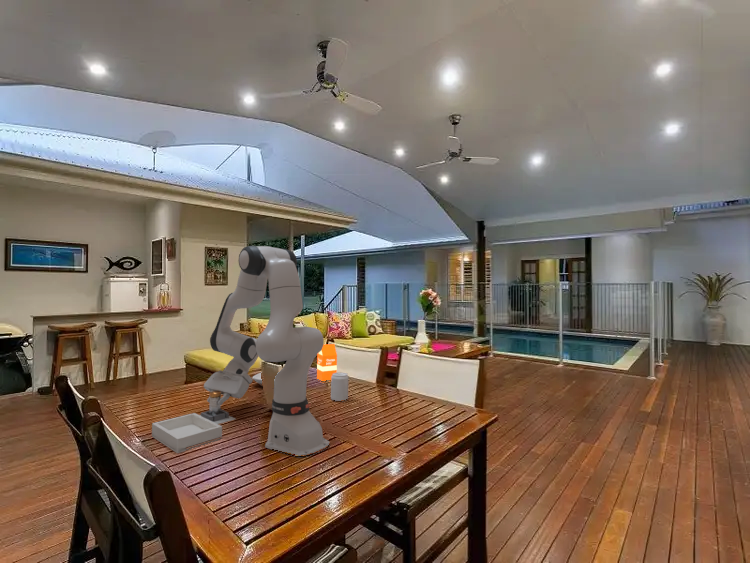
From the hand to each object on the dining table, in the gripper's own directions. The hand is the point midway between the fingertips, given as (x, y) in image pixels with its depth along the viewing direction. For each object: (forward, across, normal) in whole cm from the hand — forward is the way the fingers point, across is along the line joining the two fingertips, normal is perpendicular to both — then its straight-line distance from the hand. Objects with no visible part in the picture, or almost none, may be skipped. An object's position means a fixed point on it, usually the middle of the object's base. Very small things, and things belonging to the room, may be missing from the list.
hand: (213, 403), depth 153 cm
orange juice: (-49, -2, +59) cm, 76 cm away
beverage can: (-30, +25, +40) cm, 56 cm away
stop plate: (+4, 0, +5) cm, 7 cm away
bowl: (-32, -17, +42) cm, 56 cm away
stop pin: (+4, 0, +5) cm, 6 cm away
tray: (+16, +6, -6) cm, 18 cm away
